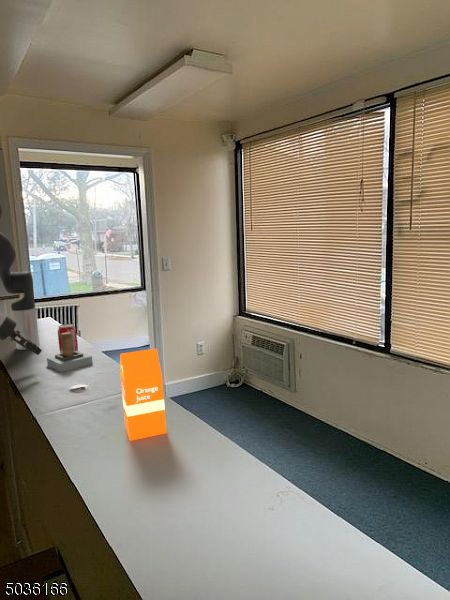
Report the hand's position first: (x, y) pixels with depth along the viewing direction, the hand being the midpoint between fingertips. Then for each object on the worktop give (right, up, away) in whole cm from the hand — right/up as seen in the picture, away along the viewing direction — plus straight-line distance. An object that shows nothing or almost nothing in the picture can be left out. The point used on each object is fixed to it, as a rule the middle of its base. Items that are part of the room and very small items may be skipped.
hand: (37, 350), depth 153 cm
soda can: (+4, -4, +21) cm, 22 cm away
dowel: (+9, -6, +7) cm, 13 cm away
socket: (+9, -6, +7) cm, 13 cm away
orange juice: (+48, -14, -49) cm, 69 cm away
